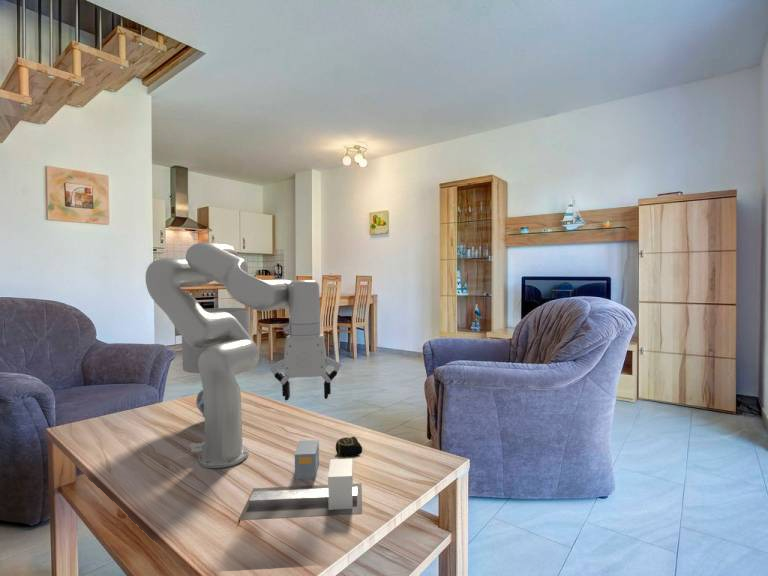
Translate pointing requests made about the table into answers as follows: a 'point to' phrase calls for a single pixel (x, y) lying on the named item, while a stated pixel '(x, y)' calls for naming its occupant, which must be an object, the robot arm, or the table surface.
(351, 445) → the tape measure
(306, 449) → the block
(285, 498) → the rail
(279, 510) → the mounting board
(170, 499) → the table surface
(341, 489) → the mounted module
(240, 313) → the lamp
